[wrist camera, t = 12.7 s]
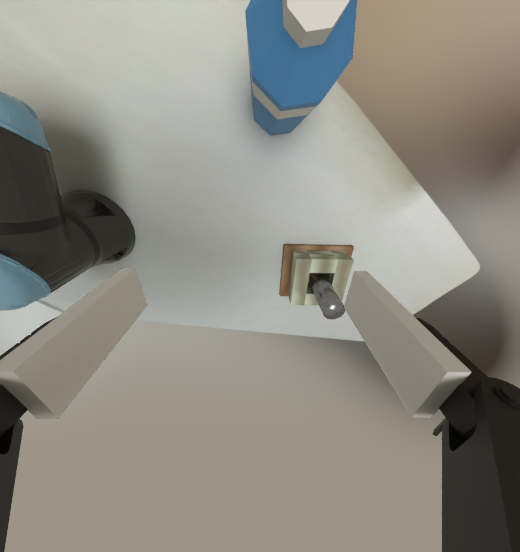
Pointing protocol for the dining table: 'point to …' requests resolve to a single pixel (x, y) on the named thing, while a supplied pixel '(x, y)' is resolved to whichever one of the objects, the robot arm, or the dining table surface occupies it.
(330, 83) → the water bottle
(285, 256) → the socket
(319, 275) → the peg
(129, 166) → the dining table surface
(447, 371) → the robot arm
